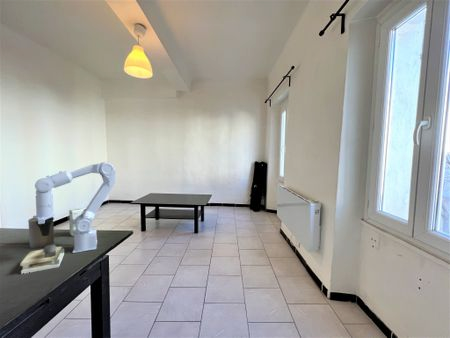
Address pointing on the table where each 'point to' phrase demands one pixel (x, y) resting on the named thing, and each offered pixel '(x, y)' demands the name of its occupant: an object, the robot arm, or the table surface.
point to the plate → (42, 255)
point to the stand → (43, 265)
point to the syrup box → (72, 216)
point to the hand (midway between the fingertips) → (45, 235)
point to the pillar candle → (39, 235)
